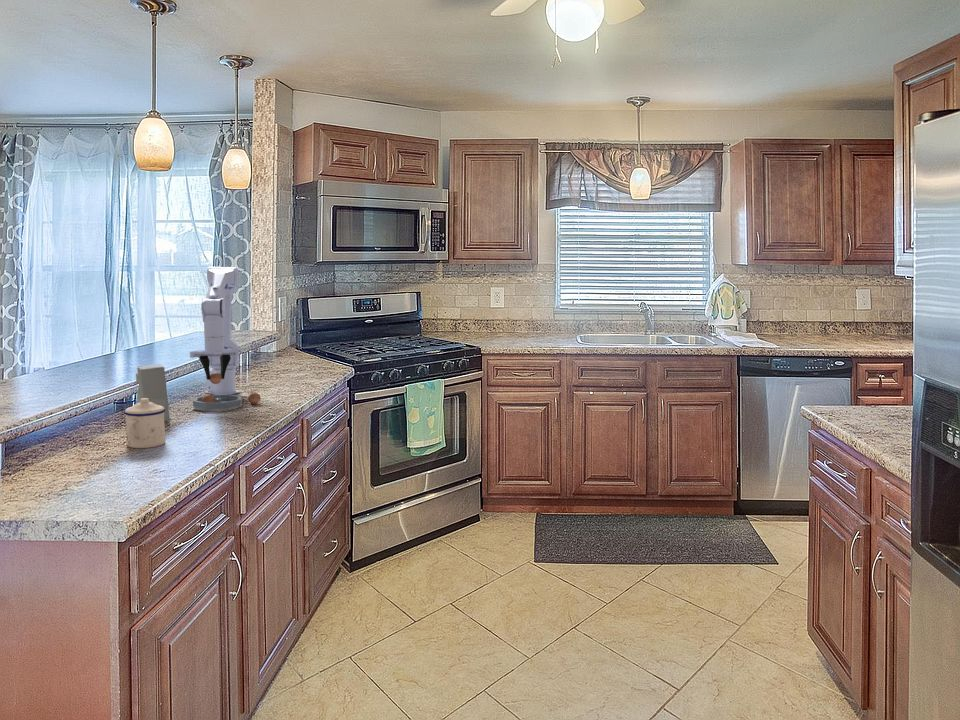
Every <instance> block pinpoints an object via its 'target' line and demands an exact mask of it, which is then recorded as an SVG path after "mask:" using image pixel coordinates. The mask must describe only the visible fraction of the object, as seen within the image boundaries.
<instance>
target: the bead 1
mask: <svg viewBox="0 0 960 720" xmlns="http://www.w3.org/2000/svg"><path fill="white" fill-rule="evenodd" d="M221 380H222V376H221V374H220V373H218V372H214V373H212V374H211V375H210V382H211V383H213V384H218V383H220V382H221Z"/></svg>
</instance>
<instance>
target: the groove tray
mask: <svg viewBox="0 0 960 720" xmlns="http://www.w3.org/2000/svg"><path fill="white" fill-rule="evenodd" d="M212 395H213V396H214V397H215V403H206V402H202V398H203V397H204V396H205V395H202V396H197V397H194V399H193V400H192V407H193V409H194V408H195V409H194V410H196V411H199V410H201V411H200V412H226V411H225V410H227V411H232V410H231V409H233V410H237V409H239V407H240V408H241V407H242V404H243V403H242V402H243V399H242V397H243V396H241V395H235V394H221V395H216V394H212ZM236 408H237V409H236Z"/></svg>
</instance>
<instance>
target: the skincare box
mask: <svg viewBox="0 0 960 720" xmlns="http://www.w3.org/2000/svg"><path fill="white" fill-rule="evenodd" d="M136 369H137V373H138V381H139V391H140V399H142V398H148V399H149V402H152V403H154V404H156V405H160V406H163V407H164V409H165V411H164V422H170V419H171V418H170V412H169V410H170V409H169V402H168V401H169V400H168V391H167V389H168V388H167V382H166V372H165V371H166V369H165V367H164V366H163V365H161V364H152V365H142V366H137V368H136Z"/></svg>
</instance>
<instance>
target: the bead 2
mask: <svg viewBox="0 0 960 720" xmlns="http://www.w3.org/2000/svg"><path fill="white" fill-rule="evenodd" d="M247 398H248V399H247V400H248V402H249V403H250V404H252V405H256V404H258V403H260V401H261V395H260V394H259V393H258V392H254V391H253V392H251V393H250V394H249V395H248V397H247Z"/></svg>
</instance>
